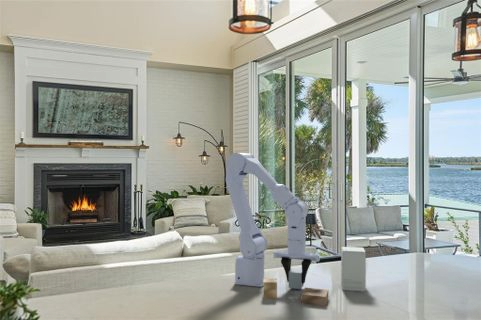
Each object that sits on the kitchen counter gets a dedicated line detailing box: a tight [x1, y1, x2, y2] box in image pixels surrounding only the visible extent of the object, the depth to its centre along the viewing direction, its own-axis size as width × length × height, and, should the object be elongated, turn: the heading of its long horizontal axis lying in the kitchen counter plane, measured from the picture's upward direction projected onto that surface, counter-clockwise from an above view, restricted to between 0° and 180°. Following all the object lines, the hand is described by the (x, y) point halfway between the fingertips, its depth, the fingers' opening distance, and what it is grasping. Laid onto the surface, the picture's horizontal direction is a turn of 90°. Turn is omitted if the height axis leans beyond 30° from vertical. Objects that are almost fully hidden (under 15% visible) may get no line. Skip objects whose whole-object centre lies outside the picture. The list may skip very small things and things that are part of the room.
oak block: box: [263, 277, 278, 300], centre depth 128 cm, size 4×4×5 cm
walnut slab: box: [300, 287, 329, 307], centre depth 124 cm, size 7×7×3 cm
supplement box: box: [340, 246, 367, 292], centre depth 137 cm, size 7×7×13 cm
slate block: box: [288, 268, 304, 290], centre depth 135 cm, size 4×4×5 cm
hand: (296, 281), depth 135 cm, fingers closed on slate block, 4 cm apart
